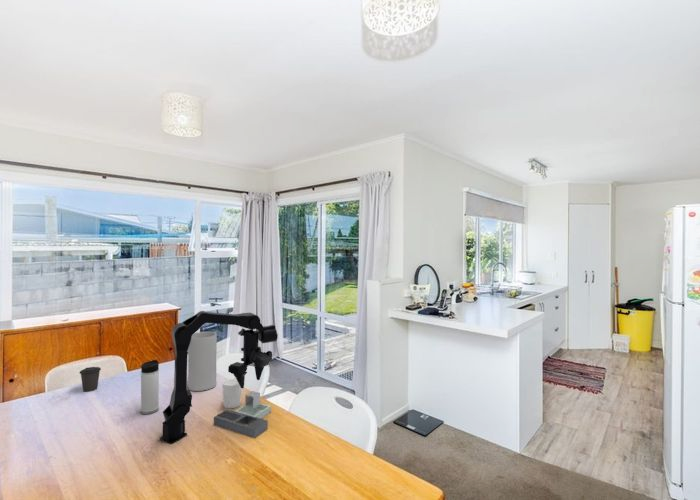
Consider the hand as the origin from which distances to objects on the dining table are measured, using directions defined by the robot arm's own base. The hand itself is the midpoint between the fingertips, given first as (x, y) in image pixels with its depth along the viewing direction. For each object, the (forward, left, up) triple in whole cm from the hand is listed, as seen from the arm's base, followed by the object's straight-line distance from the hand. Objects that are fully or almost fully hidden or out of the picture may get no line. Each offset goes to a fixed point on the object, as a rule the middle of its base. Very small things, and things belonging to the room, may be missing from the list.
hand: (250, 383), depth 138 cm
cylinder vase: (+12, +40, -13) cm, 44 cm away
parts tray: (+1, -1, -13) cm, 13 cm away
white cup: (+4, +13, -13) cm, 19 cm away
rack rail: (-8, -3, -13) cm, 15 cm away
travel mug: (-15, +39, -13) cm, 44 cm away
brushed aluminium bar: (+1, -1, -12) cm, 12 cm away
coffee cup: (-14, +84, -13) cm, 87 cm away
